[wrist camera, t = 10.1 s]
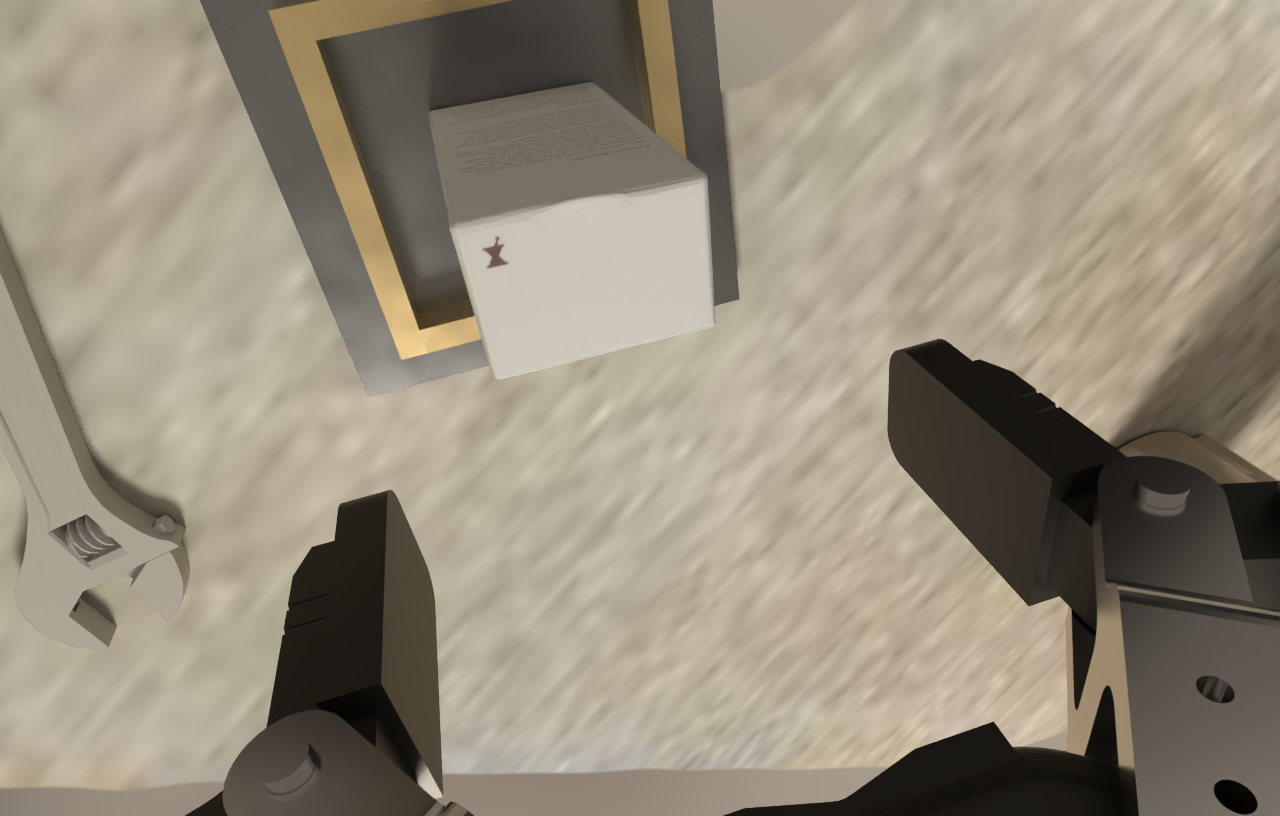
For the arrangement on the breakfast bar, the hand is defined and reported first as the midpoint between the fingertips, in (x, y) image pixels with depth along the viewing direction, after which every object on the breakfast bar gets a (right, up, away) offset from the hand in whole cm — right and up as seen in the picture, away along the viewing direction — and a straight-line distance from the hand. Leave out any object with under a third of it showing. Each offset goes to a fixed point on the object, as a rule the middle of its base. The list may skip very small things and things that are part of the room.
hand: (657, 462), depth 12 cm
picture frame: (-5, +10, +17) cm, 20 cm away
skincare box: (-4, +10, +16) cm, 20 cm away
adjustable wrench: (-23, +2, +17) cm, 28 cm away
